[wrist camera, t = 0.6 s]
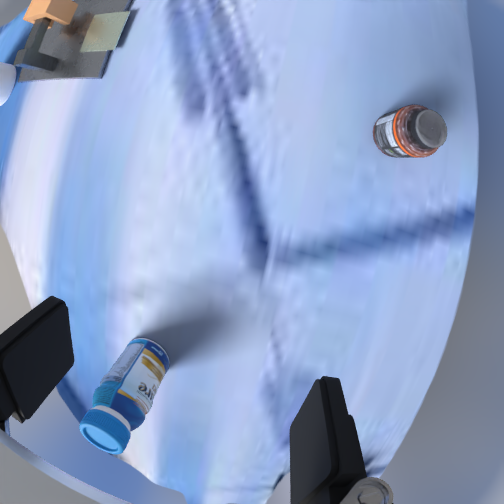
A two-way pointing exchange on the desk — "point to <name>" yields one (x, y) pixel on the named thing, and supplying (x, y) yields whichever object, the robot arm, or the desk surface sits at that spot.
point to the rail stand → (73, 43)
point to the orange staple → (51, 11)
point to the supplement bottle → (410, 132)
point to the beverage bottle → (125, 395)
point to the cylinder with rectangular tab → (6, 81)
